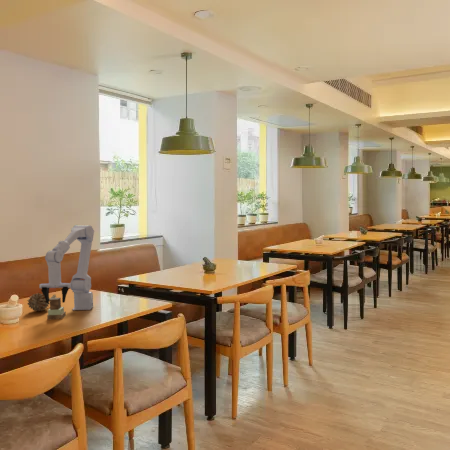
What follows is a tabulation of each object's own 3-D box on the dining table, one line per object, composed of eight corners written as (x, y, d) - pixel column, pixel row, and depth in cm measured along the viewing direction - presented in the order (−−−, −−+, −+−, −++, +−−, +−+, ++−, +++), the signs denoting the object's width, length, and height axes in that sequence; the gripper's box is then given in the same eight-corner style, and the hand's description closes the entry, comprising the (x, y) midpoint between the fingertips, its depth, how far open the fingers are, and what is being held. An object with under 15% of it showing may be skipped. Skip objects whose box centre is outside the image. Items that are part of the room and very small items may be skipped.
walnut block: (60, 307, 240) (60, 297, 239) (58, 309, 236) (58, 299, 235) (52, 307, 240) (52, 297, 239) (50, 309, 236) (49, 299, 235)
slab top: (63, 311, 241) (63, 306, 241) (60, 314, 235) (60, 309, 235) (51, 312, 241) (51, 307, 241) (48, 315, 235) (47, 310, 235)
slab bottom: (65, 316, 242) (65, 311, 242) (62, 320, 235) (62, 315, 235) (51, 316, 242) (51, 312, 241) (47, 320, 235) (47, 315, 234)
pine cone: (41, 315, 244) (40, 295, 243) (23, 314, 245) (22, 295, 244) (62, 304, 265) (61, 287, 265) (45, 304, 267) (44, 286, 266)
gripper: (36, 276, 232) (38, 304, 233) (67, 275, 233) (68, 303, 234) (41, 274, 239) (42, 301, 240) (71, 273, 240) (72, 300, 241)
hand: (55, 302), depth 237 cm, fingers open, 7 cm apart
